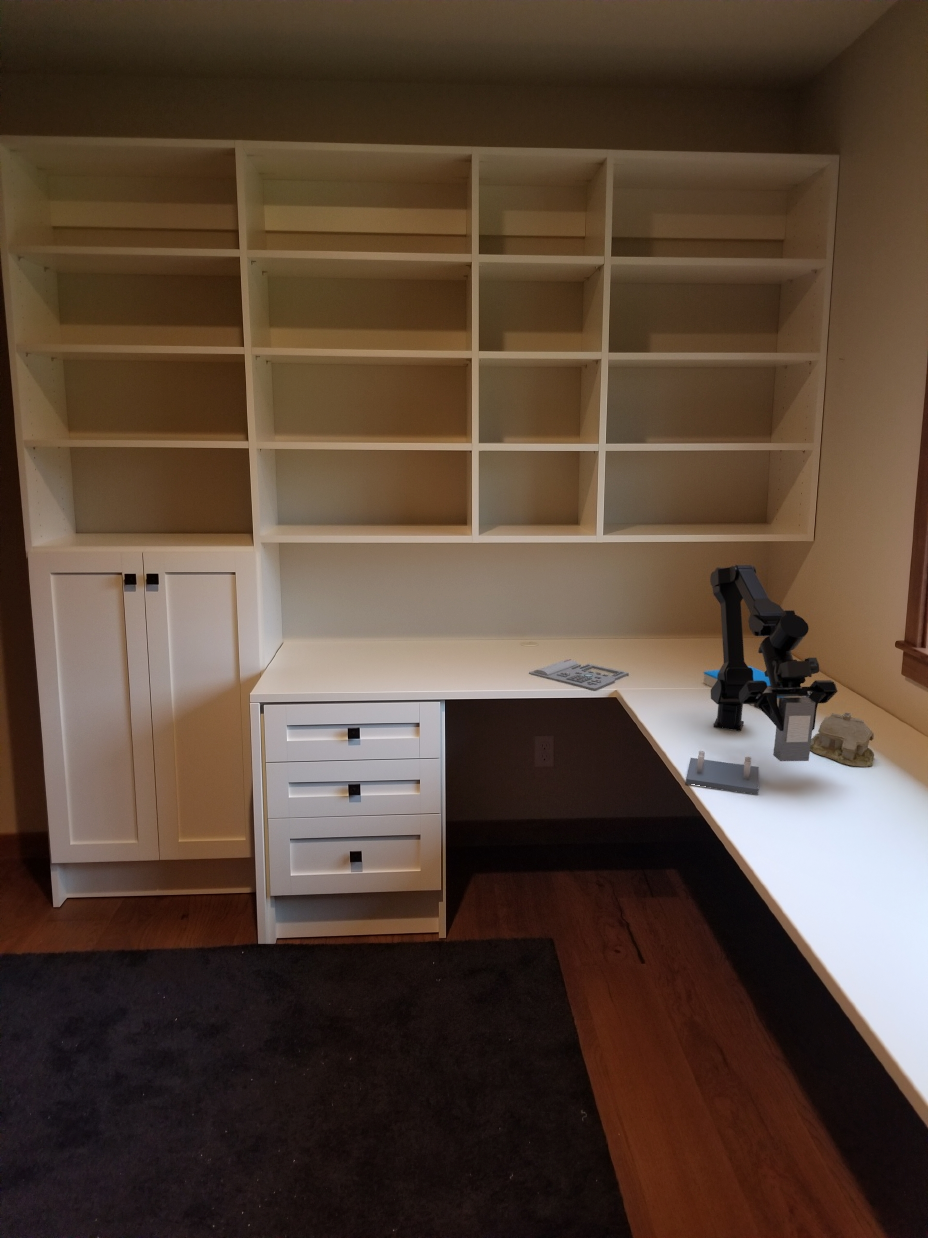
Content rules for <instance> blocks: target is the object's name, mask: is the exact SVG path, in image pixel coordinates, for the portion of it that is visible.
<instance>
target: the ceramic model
mask: <svg viewBox="0 0 928 1238" xmlns="http://www.w3.org/2000/svg"><path fill="white" fill-rule="evenodd" d="M812 736H813V737H811V745H810V752H813V753H814V754H817V755H820V756H823V757H826V758H829V759H831V760H832V761H833V760H834V761H836V762H838V763H840V764H844V765H847V766H852V767H853V766H854V767H865V768H866V767H872V766H873V760H874V758H875V753H874V751H873V750H872V749H871V748H870V747H869V744H870V741H872V742H873V740H874V738H875V737H874V732H873V730H872V729H871V728H870V727H869V726H868V725H867V724H866V723H865V721H864V720H863V719H861V718H856V717H852V714H851V713H850V712H844V713H843V715H842V714H839V713H831V714H830V715H829V716H825V717H824V719H822V721H821V723H820V725H819V728H818V732H817V733H816V734H815V735H812Z"/></svg>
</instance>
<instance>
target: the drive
mask: <svg viewBox="0 0 928 1238" xmlns="http://www.w3.org/2000/svg"><path fill="white" fill-rule="evenodd" d="M778 708H779V711H780V715H781V718H782V721H783V727H784V729H783V730H782V731H780V730H779V729H778V728H777V727H776V726H775V727H776V728H775V736H774V746H773V756H774V757H775V758H776V760H778V761H779V762H809V760H810V753H811V750H810V745H811V739H812V738H813V737H812V736H813V731H812V728H813V720H814V712H815V702H814V701H813V700H811V699H810V698H808V697H797V698H779V707H778Z"/></svg>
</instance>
